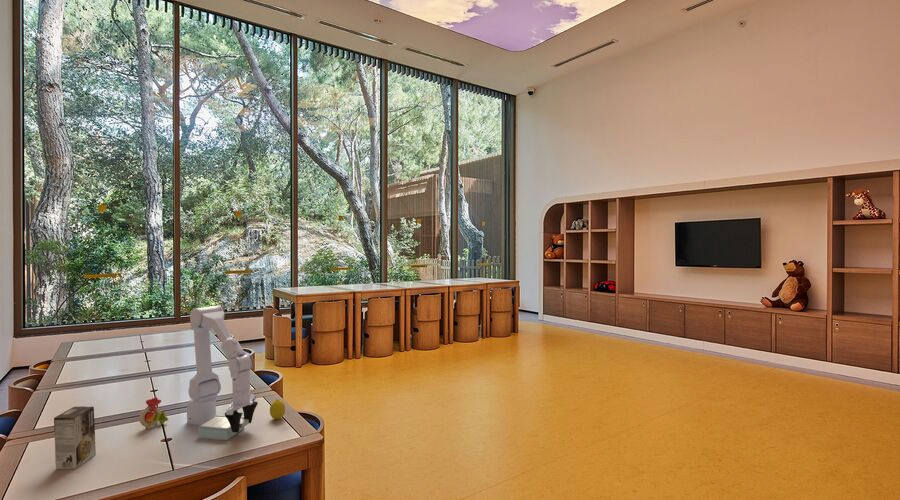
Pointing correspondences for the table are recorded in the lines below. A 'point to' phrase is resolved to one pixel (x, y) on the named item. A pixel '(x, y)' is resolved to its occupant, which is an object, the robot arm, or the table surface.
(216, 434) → the tub
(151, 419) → the bird rattle
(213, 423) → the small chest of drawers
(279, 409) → the lemon
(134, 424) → the table surface
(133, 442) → the table surface
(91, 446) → the coffee box
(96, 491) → the table surface
